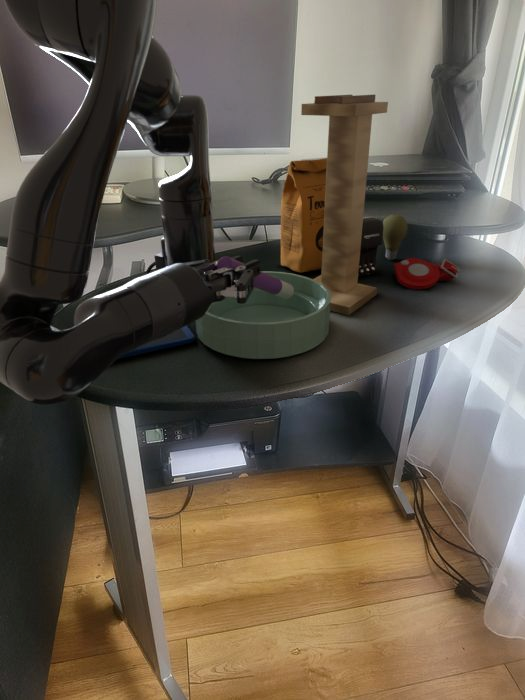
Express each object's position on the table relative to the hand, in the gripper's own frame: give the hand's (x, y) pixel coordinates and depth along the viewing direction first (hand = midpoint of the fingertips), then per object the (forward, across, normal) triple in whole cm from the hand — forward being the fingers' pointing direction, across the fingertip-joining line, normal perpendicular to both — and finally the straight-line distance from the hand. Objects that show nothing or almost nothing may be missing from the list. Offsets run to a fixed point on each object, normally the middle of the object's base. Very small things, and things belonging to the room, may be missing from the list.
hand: (249, 264), depth 70 cm
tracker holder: (+38, -14, +12) cm, 42 cm away
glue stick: (+2, 0, +4) cm, 5 cm away
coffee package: (+33, +9, +12) cm, 36 cm away
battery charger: (+35, -2, +12) cm, 37 cm away
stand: (+21, -3, +12) cm, 24 cm away
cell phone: (-11, +12, +12) cm, 20 cm away
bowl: (+3, 0, +12) cm, 12 cm away
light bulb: (+47, -3, +12) cm, 49 cm away
